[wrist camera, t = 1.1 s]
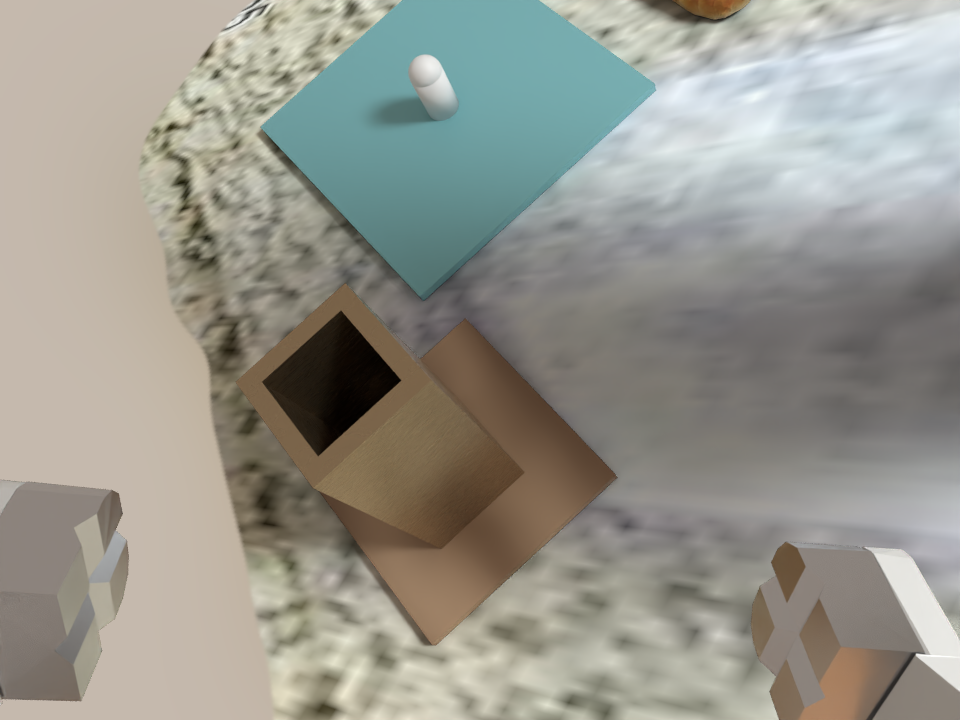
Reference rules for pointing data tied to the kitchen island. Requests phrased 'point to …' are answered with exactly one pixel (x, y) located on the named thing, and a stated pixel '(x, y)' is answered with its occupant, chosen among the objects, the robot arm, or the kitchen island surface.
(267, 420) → the bronze sleeve
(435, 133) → the teal hub plate
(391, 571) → the walnut stand
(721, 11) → the pastry
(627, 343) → the kitchen island surface
